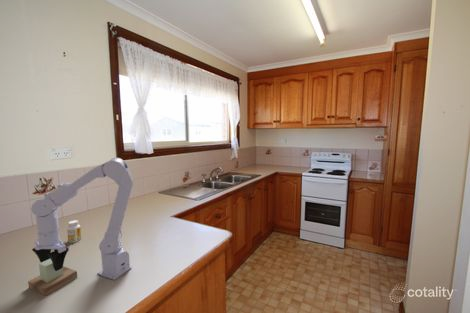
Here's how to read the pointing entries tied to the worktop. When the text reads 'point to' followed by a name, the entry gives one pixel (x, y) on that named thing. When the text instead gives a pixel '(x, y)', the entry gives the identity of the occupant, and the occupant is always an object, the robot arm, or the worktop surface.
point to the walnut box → (52, 282)
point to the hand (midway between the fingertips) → (52, 266)
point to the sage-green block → (48, 271)
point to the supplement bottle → (73, 231)
